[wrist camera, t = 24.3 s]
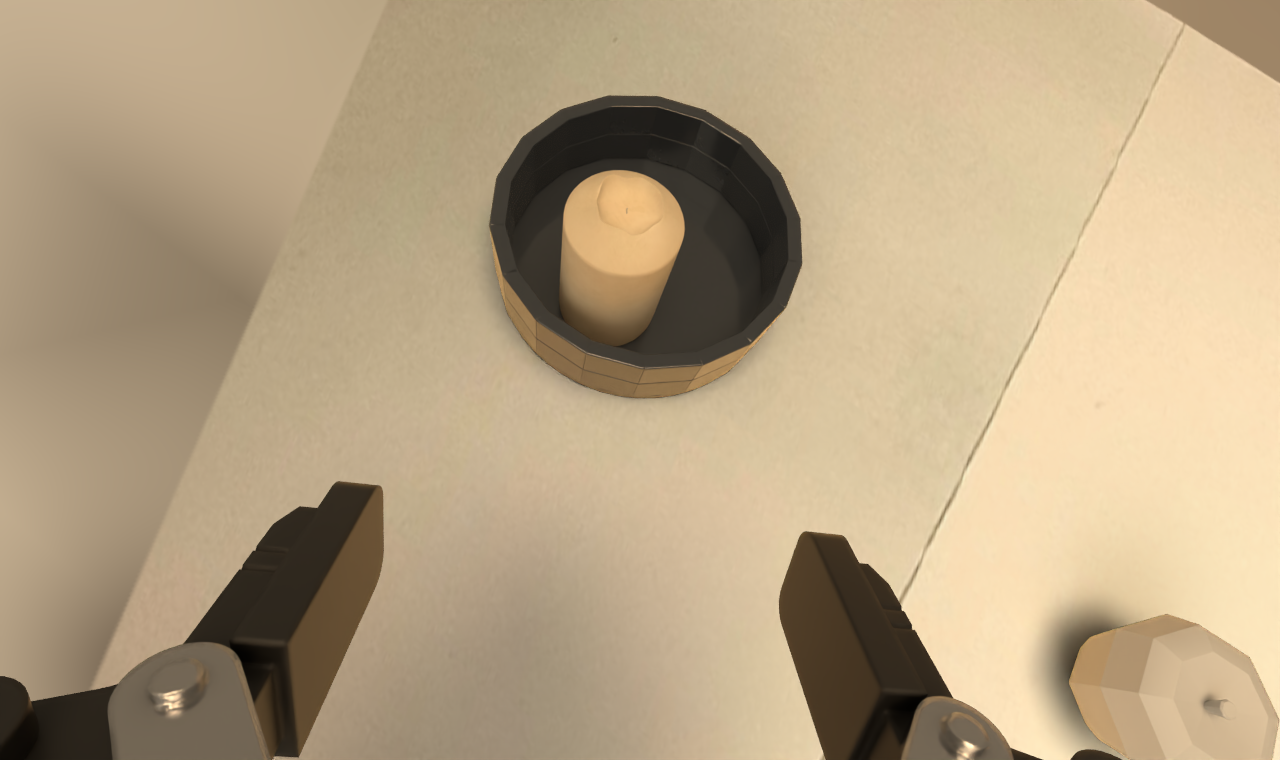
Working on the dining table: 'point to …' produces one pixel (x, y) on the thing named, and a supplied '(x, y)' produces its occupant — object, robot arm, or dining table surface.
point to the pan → (704, 267)
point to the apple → (1173, 694)
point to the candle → (617, 254)
